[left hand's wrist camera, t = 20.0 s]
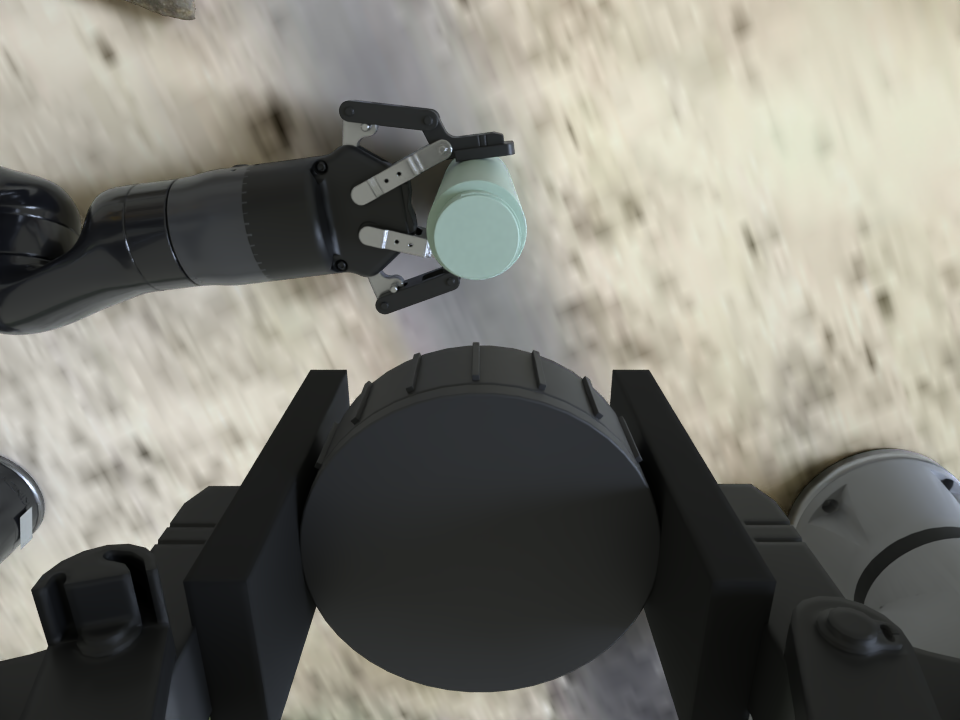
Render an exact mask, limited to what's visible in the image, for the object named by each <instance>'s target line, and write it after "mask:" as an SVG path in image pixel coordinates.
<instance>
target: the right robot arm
mask: <svg viewBox="0 0 960 720" xmlns="http://www.w3.org/2000/svg"><path fill="white" fill-rule="evenodd" d="M339 113H340V116H341V118H342V119H343V141H342V146H340V147H338V148H337V149H336V150H335V151H333V152H332V153H330V154H328V155H323V156H316V157H309V158H301V159H294V160H286V161H279V162H271V163H263V164H256V165H235V166H233V167H231V168H225V169H217V170H212V171H207V172H204V173H200V174H197V175H193V176H190V177H185V178H180V179H173V180H165V181H157V182H150V183H142V184H133V185H127V186H120V187H115V188H111V189H108V190H106V191H104V192H102V193H101V194H100V195H98V196H97V197H96V198H95V199H94V201H93V202H92V204H91V206H90V208H89V210H88V213H87V216H86V219H85V222H84V225H83V228H82V231H81V219H80V214H79V211H78V209H77V207H76V205H75V203H74V202H73V200H72V199H71V198H70V196H69V195H68V194H67V193H66V192H65V191H64V190H63V189H62V188H61V187H60V186H58V185H57V184H55V183H53V182H51V181H50V180H47V179H44V178H41V177H39V176H35V175H31V174H27V173H23V172H19V171H15V170H12V169H8V168H5V167H2V166H0V334H9V335H26V334H35V333H41V332H46V331H50V330H54V329H57V328H60V327H63V326H66V325H68V324H71V323H74V322H76V321H78V320H81V319H83V318H85V317H88V316H90V315H92V314H94V313H96V312H99V311H101V310H103V309H105V308H108V307H110V306H113V305H116V304H118V303H121V302H124V301H126V300H129V299H131V298H134V297H136V296H139V295H142V294H145V293H149V292H156V291H164V290H171V289H180V288H188V287H196V286H206V285H245V284H253V283H261V282H269V281H277V280H286V279H294V278H302V277H310V276H318V275H327V274H335V273H343V272H351V273H355V274H358V275H361V276H364V277H368V279H369V281H370V284H371V286H372V288H373V290H374V293H375V295H376V297H377V301H376V309H377V311H378V312H379V313H381V314H389V313H391V312H394V311H397V310H400V309H402V308H405V307H408V306H411V305H413V304H416V303H419V302H422V301H425V300H427V299H430V298H433V297H436V296H438V295H441V294H444V293H447V292H449V291H452V290H455V289H456V288H457V287H458V286H459V284H460V278H461V277H458V276H456V275H454V274H452V273H450V272H449V271H447V270H446V269H445V268H443V267H441V268H438V269H435V270H432V271H430V272H427V273H424V274H422V275H419V276H416V277H413V278H411V279H408V280H404V279H403V277H402V276H400V275H387V274H385V273H384V272H383V271H382V270H383V269H384V268H385V267H386V266H387V265H388V264H389V263H390V262H391V261H392V260H393V259H394V258H395V257H396V256H397V255H399V254H400V253H401V252H402V253H407V254H411V255H415V256H419V257H432V258H435V257H434V255H433V254H432V252H431V250H430V247H429V244H428V240H427V232H426V228H424V227H420V226H417V220H416V214H415V212H414V210H413V207H412V205H411V195H412V188H411V182H410V179H412V178H414V177H416V176H417V175H419V174H421V173H422V172H424V171H426V170H427V169H429V168H431V167H433V166H435V165H436V164H438V163H440V162H442V161H444V160H448V159H456V162H460V161H468V160H475V159H483V158H491V157H499V156H507V155H513V154H515V150H514V142H513V141H504V138H503V134H501V133H498V132H487V133H480V134H472V135H465V136H452V135H450V134H449V133H448V132H447V131H446V130H445V128H444V126H443V124H442V122H441V120H440V116H439V114H438V112H437V111H435V110H433V109H427V108H419V107H410V106H402V105H393V104H385V103H376V102H367V101H359V100H350V101H345V102H343V103H342V104H341V106H340V108H339ZM378 125H379V126H388V127H397V128H405V129H414V130H422V131H423V133H424V135H425V137H426V139H427V141H428V143H429V144H428V145H426V146H424V147H423V148H421V149H419V150H417V151H415V152H413V153H411V154H409V155H408V156H406V157H404V158H402V159H400V160H399V161H397V162H395V163H393V164H391V163H390V162H388V161H386V160H384V159H382V158H381V157H379V156H377V155H375V154H373V153H372V152H370V151H368V150H366V149H364V148H363V147H361V146H359V143H360V141H361V139H362V138H363V137H370V136H372V135H374V134H375V133H376V132H377V131H378ZM415 234H416V235H415ZM410 244H413V245H410ZM43 517H44V500H43V497H42V494H41V492H40V489H39V488H38V486H37V484H36V483H35V481H34V480H33V479H32V478H31V477H30V475H29V474H28V473H27V472H25V471H24V470H23V469H22V468H21V467H19V466H18V465H16V464H15V463H13V462H12V461H10V460H8V459H6V458H4V457H1V456H0V564H1V563H2V562H3V561H4V560H5V559H6V558H7V557H8V556H9V555H10V554H11V553H12V552H13V551H14V550H15V549H16V548H17V547H18V546H19V545H20V544H21V549H22V548H23V547H24V546H25V545H26V544H27V543H28V542H29V541H30V540H31V539H32V534H33V533H34V532H35V531H36V530H37V529H38V527H39V526H40V524H41V522H42V520H43Z"/></svg>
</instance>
